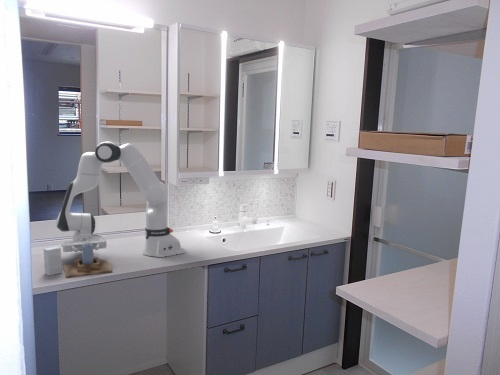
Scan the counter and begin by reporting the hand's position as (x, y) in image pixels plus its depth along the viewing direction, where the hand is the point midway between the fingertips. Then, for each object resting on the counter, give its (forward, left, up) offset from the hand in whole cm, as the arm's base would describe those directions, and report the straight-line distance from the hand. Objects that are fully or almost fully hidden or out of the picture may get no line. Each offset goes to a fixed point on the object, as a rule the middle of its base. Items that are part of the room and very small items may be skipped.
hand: (86, 249), depth 199 cm
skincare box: (+15, +3, -9) cm, 18 cm away
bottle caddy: (0, +4, -9) cm, 10 cm away
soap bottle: (0, +4, -8) cm, 9 cm away
